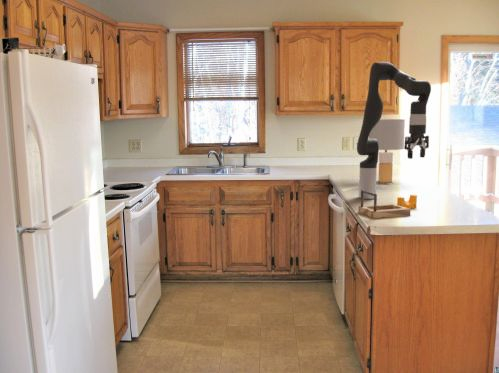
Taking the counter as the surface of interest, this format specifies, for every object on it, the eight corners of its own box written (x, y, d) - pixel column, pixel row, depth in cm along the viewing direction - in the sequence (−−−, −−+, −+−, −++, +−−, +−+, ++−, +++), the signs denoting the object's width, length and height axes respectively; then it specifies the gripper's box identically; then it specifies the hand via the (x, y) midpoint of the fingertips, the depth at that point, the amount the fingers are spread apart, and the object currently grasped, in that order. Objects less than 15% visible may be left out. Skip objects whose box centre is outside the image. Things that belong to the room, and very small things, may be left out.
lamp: (376, 185, 339) (378, 120, 332) (362, 180, 361) (363, 119, 354) (409, 183, 343) (411, 119, 337) (392, 179, 365) (394, 119, 359)
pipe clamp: (409, 206, 268) (409, 194, 267) (416, 207, 264) (416, 195, 263) (394, 209, 261) (394, 196, 260) (401, 210, 257) (401, 198, 256)
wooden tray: (358, 212, 254) (358, 189, 253) (392, 209, 260) (393, 187, 258) (374, 218, 240) (375, 194, 239) (410, 215, 246) (411, 192, 244)
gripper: (421, 123, 254) (420, 156, 256) (401, 123, 246) (399, 158, 249) (434, 123, 247) (432, 157, 250) (413, 124, 240) (412, 159, 243)
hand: (416, 157), depth 249 cm, fingers open, 8 cm apart
